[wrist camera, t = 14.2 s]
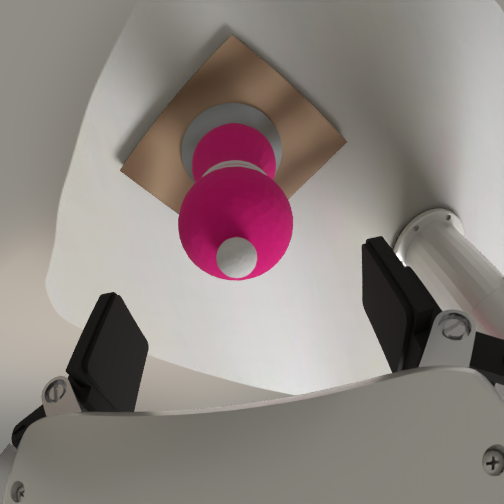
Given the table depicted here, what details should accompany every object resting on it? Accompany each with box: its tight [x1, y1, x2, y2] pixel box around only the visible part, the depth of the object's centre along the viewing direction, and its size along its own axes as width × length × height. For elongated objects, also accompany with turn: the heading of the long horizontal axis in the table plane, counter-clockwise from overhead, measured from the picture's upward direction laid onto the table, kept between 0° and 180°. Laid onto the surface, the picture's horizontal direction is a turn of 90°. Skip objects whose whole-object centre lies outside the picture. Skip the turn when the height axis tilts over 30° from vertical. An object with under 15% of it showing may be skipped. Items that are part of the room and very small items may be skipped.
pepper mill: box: [178, 123, 293, 280], centre depth 21 cm, size 7×7×20 cm
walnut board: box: [120, 35, 347, 214], centre depth 31 cm, size 16×18×2 cm
